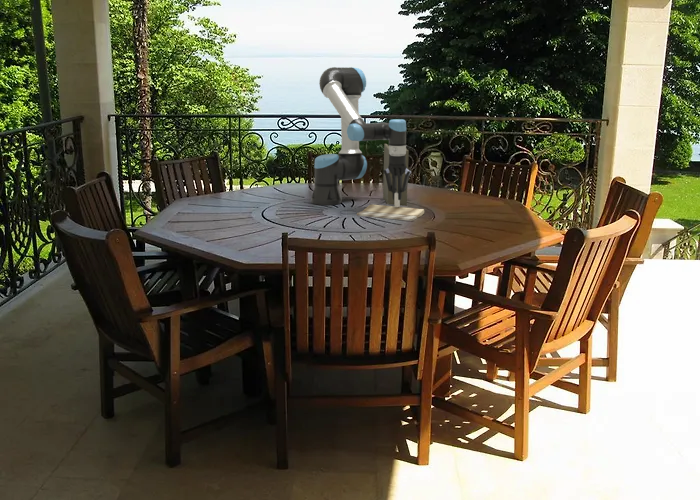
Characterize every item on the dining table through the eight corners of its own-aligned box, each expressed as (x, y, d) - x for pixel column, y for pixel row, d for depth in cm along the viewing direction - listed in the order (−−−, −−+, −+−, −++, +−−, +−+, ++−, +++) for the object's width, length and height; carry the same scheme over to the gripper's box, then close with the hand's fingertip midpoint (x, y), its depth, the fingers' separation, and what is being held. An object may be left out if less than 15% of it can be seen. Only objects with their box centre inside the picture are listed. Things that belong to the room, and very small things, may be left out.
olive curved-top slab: (406, 207, 321) (408, 149, 313) (387, 207, 320) (389, 149, 313) (401, 198, 342) (402, 143, 334) (382, 198, 341) (384, 143, 333)
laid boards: (356, 217, 295) (356, 213, 294) (362, 214, 300) (362, 210, 299) (412, 222, 284) (412, 218, 284) (416, 220, 289) (416, 216, 289)
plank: (363, 214, 301) (363, 210, 300) (370, 208, 308) (370, 204, 308) (417, 219, 290) (417, 215, 290) (424, 213, 298) (424, 209, 297)
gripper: (380, 155, 295) (380, 207, 301) (408, 156, 289) (407, 209, 296) (386, 153, 301) (386, 204, 307) (414, 154, 296) (413, 206, 302)
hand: (397, 206), depth 302 cm, fingers closed
